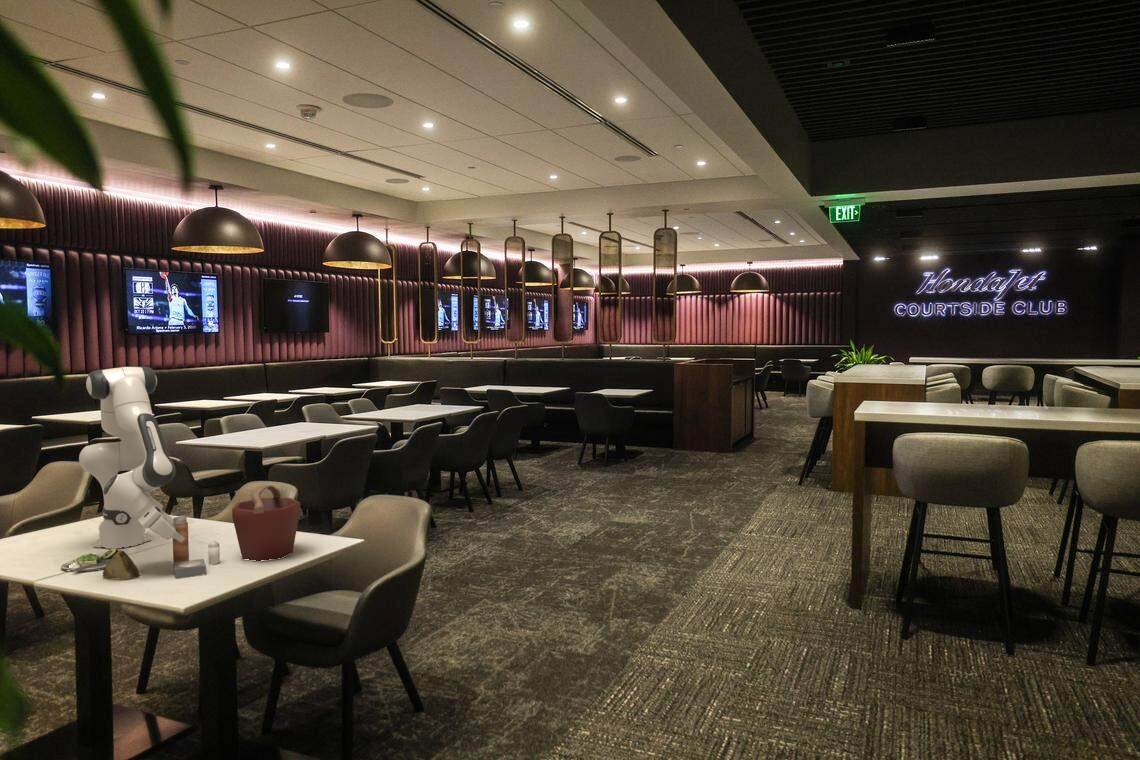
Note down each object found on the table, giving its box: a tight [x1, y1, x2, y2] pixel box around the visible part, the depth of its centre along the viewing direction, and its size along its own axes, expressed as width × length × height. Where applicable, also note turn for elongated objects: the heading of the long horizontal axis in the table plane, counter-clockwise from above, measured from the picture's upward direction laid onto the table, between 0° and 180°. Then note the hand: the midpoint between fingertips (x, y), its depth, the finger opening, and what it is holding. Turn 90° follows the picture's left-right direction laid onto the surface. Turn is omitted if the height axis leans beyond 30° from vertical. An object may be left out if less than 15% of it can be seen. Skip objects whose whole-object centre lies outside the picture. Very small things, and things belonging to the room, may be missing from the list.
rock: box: [102, 549, 142, 580], centre depth 253 cm, size 11×9×10 cm
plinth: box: [173, 558, 207, 579], centre depth 257 cm, size 9×9×3 cm
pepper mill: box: [172, 516, 190, 566], centre depth 264 cm, size 5×5×16 cm
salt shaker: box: [207, 540, 221, 565], centre depth 268 cm, size 4×4×8 cm
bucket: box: [231, 484, 301, 562], centre depth 278 cm, size 24×22×25 cm
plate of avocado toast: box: [60, 548, 119, 573], centre depth 265 cm, size 19×18×5 cm
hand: (182, 537), depth 264 cm, fingers closed on pepper mill, 5 cm apart
